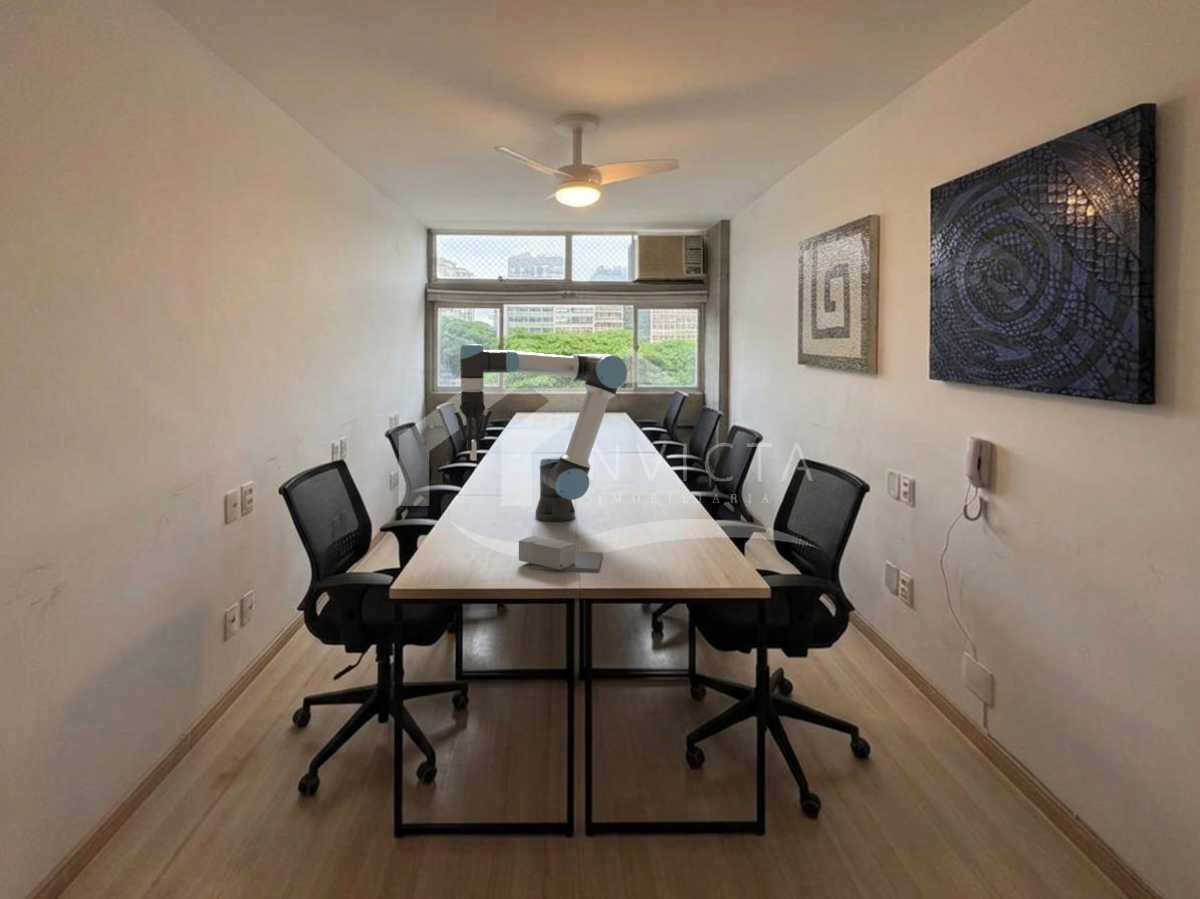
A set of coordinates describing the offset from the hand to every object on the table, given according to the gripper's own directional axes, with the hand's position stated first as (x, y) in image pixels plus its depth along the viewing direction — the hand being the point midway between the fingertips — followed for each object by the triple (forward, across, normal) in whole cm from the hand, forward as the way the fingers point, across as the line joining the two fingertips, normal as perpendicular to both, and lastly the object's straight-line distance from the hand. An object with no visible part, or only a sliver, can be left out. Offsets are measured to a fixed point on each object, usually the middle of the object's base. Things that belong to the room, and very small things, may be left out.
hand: (473, 459), depth 245 cm
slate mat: (+26, -18, +40) cm, 52 cm away
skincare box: (+23, -6, +35) cm, 42 cm away
